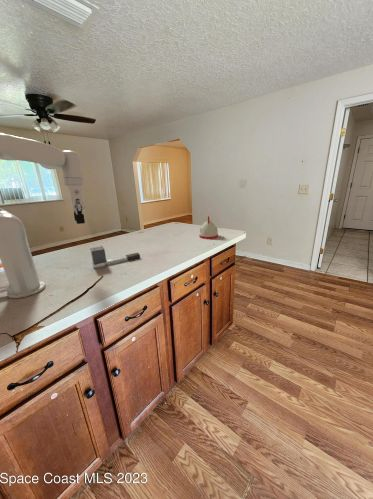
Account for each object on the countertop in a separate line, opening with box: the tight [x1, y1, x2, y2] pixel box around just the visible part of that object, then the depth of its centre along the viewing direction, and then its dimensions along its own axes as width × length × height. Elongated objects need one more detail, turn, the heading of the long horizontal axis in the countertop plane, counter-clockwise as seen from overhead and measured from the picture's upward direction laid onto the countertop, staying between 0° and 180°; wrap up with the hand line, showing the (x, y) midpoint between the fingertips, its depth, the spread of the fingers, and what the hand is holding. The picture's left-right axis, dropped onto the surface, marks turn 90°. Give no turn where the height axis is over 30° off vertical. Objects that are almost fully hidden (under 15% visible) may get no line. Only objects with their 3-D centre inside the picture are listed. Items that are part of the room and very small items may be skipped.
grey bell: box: [199, 215, 219, 240], centre depth 152 cm, size 14×14×15 cm
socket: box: [89, 246, 107, 265], centre depth 105 cm, size 6×6×7 cm
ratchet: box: [91, 252, 141, 270], centre depth 110 cm, size 24×7×6 cm, turn 121°
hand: (79, 222), depth 94 cm, fingers open, 9 cm apart
